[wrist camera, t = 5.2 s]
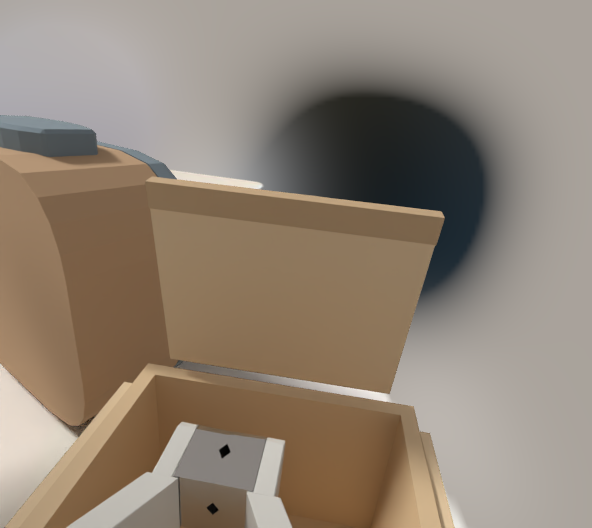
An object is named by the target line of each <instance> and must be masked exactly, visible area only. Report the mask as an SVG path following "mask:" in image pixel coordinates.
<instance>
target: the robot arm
mask: <svg viewBox="0 0 592 528" xmlns="http://www.w3.org/2000/svg"><path fill="white" fill-rule="evenodd" d="M284 451H285V440H279V439H274V438H267V437H264V436H258V435H252V434H246V433H240V432H234V431H233V432H231V431H226V430H221V429H216V428H212V427H207V426H202V425H196V424H191V423H186V422H181V423H180V424H179V425H178V426H177V428H176V430H175V431H174V433H173V435H172V437H171V439H170V441H169V442H168V444H167V446H166V448H165V450H164V452H163V454H162V455H161V457H160V459H159V461H158V463H157V465H156V466H155V468H154V470H153V472H152V473H150V472H146V473H144V474H143V475H142V476H140V477H139V478H137V479H136V480H134V481H133V482H131V483H130V484H129V485H127V486H126V487H124V488H123V489H121V490H120V491H118V492H117V493H115V494H114V495H113V496H111V497H110V498H108V499H107V500H105V501H104V502H102V503H101V504H99V505H98V506H97V507H95V508H94V509H92V510H91V511H89V512H88V513H86V514H85V515H84V516H82V517H81V518H79V519H78V520H76V521H75V522H73V523H72V524H70V525H69V526H68V527H66V528H180V527H186V528H292V525H291V523H290V520H289V518H288V515H287V513H286V510H285V508H284V505H283V503H282V500H281V498H279V497H278V495H279V489H280V482H281V474H282V467H283V459H284Z"/></svg>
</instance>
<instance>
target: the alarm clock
mask: <svg viewBox="0 0 592 528" xmlns="http://www.w3.org/2000/svg"><path fill="white" fill-rule="evenodd" d="M152 176H153V177H161V178H169V179H176V177H175V176H174V175H173V174H172V173H171V171H170V170H169V169H168V168H167V166H166V165H165V164H164V163H162V162H159V161H158V160H155V159H153V158H151V157H149V156H147V155H145V154H143V153H141V152H139V151H136V150H132V149H128V148H124V147H119V146H115V145H111V144H106V143H102V142H98V141H97V140H96V133H95V132H94V131H93V130H92V129H89V128H87V127H84V126H81V125H77V124H72V123H68V122H63V121H56V120H50V119H44V118H36V117H29V116H7V115H0V363H1V364H2V365H3V366H4V367H5V368H6V369H7V370H8V371H9V372H10V373H11V374H12V375H13V376H14V377H15V378H16V379H17V380H18V381H19V382H20V383H21V384H22V385H23V386H24V387H25V388H26V389H27V390H28V391H29V392H30V393H32V394H33V395H34V396H35V397H36V398H37V399H38V400H39V401H40V402H41V403H42V404H43V405H44V406H45V407H46V408H47V409H48V410H49V411H50V412H52V413H53V414H54V415H56V416H57V417H59V418H60V419H61V420H63V421H64V422H65V423H67V424H68V425H73V426H79V425H81V424H82V423H84V422H86V421H87V420H89V419H91V418H92V417H94V416H95V415H97V414H98V413H99V412H100V411H101V409H102V408H103V407H104V406H105V405H106V403H107V402H108V401H109V400H110V398H111V397H112V396H113V395H114V394H115V392H116V391H117V390H118V389H119V387H120V386H121V385H122V384H123V383H124V382H128V383H133V382H134V381H135V379H136V378H137V377H138V376H139V374H140V373H141V372H142V370H143V369H144V368H145V367H146V365H147V364H148V363H150V364H156V365H162V366H168V367H174V368H175V367H176V366H178V365H180V364H181V363H182V362H183V361H182V360H176V359H170V352H169V345H168V338H167V330H166V323H165V315H164V308H163V301H162V293H161V286H160V278H159V271H158V264H157V256H156V249H155V241H154V234H153V226H152V219H151V212H150V208H149V207H148V199H147V192H146V185H145V181H146V180H148V179H149V178H151V177H152Z"/></svg>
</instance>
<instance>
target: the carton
mask: <svg viewBox="0 0 592 528" xmlns="http://www.w3.org/2000/svg"><path fill="white" fill-rule="evenodd" d="M181 422H186V423H191V424H196V425H202V426H207V427H212V428H216V429H221V430H226V431H231V432H233V431H234V432H240V433H246V434H252V435H258V436H264V437H267V438H274V439H279V440H285V451H284V459H283V467H282V474H281V482H280V489H279V495H278V497H279V498H281V500H282V503H283V505H284V508H285V510H286V513H287V515H288V518H289V520H290V523H291V525H292V528H455V527H454V524H453V520H452V516H451V512H450V508H449V505H448V501H447V497H446V493H445V489H444V485H443V482H442V478H441V474H440V470H439V466H438V462H437V459H436V455H435V451H434V447H433V444H432V440H431V436H430V433H425V432H419V428H418V423H417V419H416V415H415V410H414V407H413V406H408V405H401V404H396V403H389V402H383V401H377V400H371V399H365V398H359V397H353V396H346V395H340V394H334V393H328V392H322V391H316V390H310V389H303V388H297V387H291V386H285V385H279V384H273V383H267V382H260V381H254V380H248V379H242V378H236V377H230V376H224V375H217V374H211V373H205V372H199V371H193V370H187V369H181V368H174V367H168V366H162V365H156V364H150V363H148V364H147V365H146V367H145V368H144V369H143V370H142V372H141V373H140V374H139V376H138V377H137V378H136V379H135V381H134V382H133V383H128V382H124V383H123V384H122V385H121V386H120V387H119V389H118V390H117V391H116V392H115V394H114V395H113V396H112V397H111V398H110V400H109V401H108V402H107V403H106V405H105V406H104V407H103V408H102V409H101V411H100V412H99V413H98V414H97V415H96V417H95V418H94V419H93V420H92V422H91V423H90V424H89V425H88V426H87V428H86V429H85V430H84V431H83V433H82V434H81V435H80V436H79V437H78V439H77V440H76V441H75V442H74V443H73V445H72V446H71V447H70V448H69V450H68V451H67V452H66V453H65V454H64V456H63V457H62V458H61V459H60V461H59V462H58V463H57V464H56V465H55V467H54V468H53V469H52V470H51V471H50V473H49V474H48V475H47V476H46V478H45V479H44V480H43V481H42V482H41V484H40V485H39V486H38V487H37V488H36V490H35V491H34V492H33V493H32V495H31V496H30V497H29V498H28V499H27V501H26V502H25V503H24V504H23V506H22V507H21V508H20V509H19V510H18V512H17V513H16V514H15V515H14V516H13V518H12V519H11V520H10V521H9V523H8V524H7V525H6V526H5V527H4V528H66V527H68V526H69V525H70V524H72V523H73V522H75V521H76V520H78V519H79V518H81V517H82V516H84V515H85V514H86V513H88V512H89V511H91V510H92V509H94V508H95V507H97V506H98V505H99V504H101V503H102V502H104V501H105V500H107V499H108V498H110V497H111V496H113V495H114V494H115V493H117V492H118V491H120V490H121V489H123V488H124V487H126V486H127V485H129V484H130V483H131V482H133V481H134V480H136V479H137V478H139V477H140V476H142V475H143V474H144V473H146V472H150V473H152V472H153V470H154V468H155V466H156V465H157V463H158V461H159V459H160V457H161V455H162V454H163V452H164V450H165V448H166V446H167V444H168V442H169V441H170V439H171V437H172V435H173V433H174V431H175V430H176V428H177V426H178V425H179V424H180V423H181ZM180 528H186V527H180Z"/></svg>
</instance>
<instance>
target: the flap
mask: <svg viewBox="0 0 592 528" xmlns="http://www.w3.org/2000/svg"><path fill="white" fill-rule="evenodd" d="M145 185H146V192H147V199H148V207H149V208H150V212H151V219H152V226H153V234H154V241H155V249H156V256H157V264H158V271H159V278H160V286H161V293H162V301H163V308H164V315H165V323H166V330H167V338H168V345H169V352H170V359H176V360H182V361H188V362H194V363H200V364H207V365H213V366H219V367H225V368H231V369H238V370H244V371H250V372H256V373H263V374H269V375H275V376H281V377H287V378H294V379H300V380H306V381H312V382H318V383H325V384H331V385H337V386H343V387H350V388H356V389H362V390H368V391H374V392H381V393H387V394H390V391H391V387H392V384H393V381H394V377H395V374H396V371H397V368H398V364H399V361H400V358H401V354H402V351H403V348H404V345H405V341H406V338H407V334H408V332H409V328H410V325H411V322H412V318H413V315H414V311H415V308H416V305H417V302H418V298H419V295H420V292H421V289H422V285H423V282H424V279H425V276H426V272H427V269H428V266H429V262H430V259H431V256H432V253H433V249H434V246H435V245H436V244H437V241H438V238H439V235H440V231H441V228H442V225H443V222H444V216H443V214H442V212H440V211H432V210H424V209H415V208H407V207H399V206H391V205H383V204H374V203H366V202H358V201H350V200H342V199H333V198H325V197H316V196H309V195H300V194H292V193H284V192H276V191H267V190H259V189H251V188H243V187H235V186H227V185H218V184H210V183H202V182H194V181H185V180H177V179H169V178H161V177H153V176H152V177H151V178H149V179H148V180H146V181H145Z"/></svg>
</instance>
